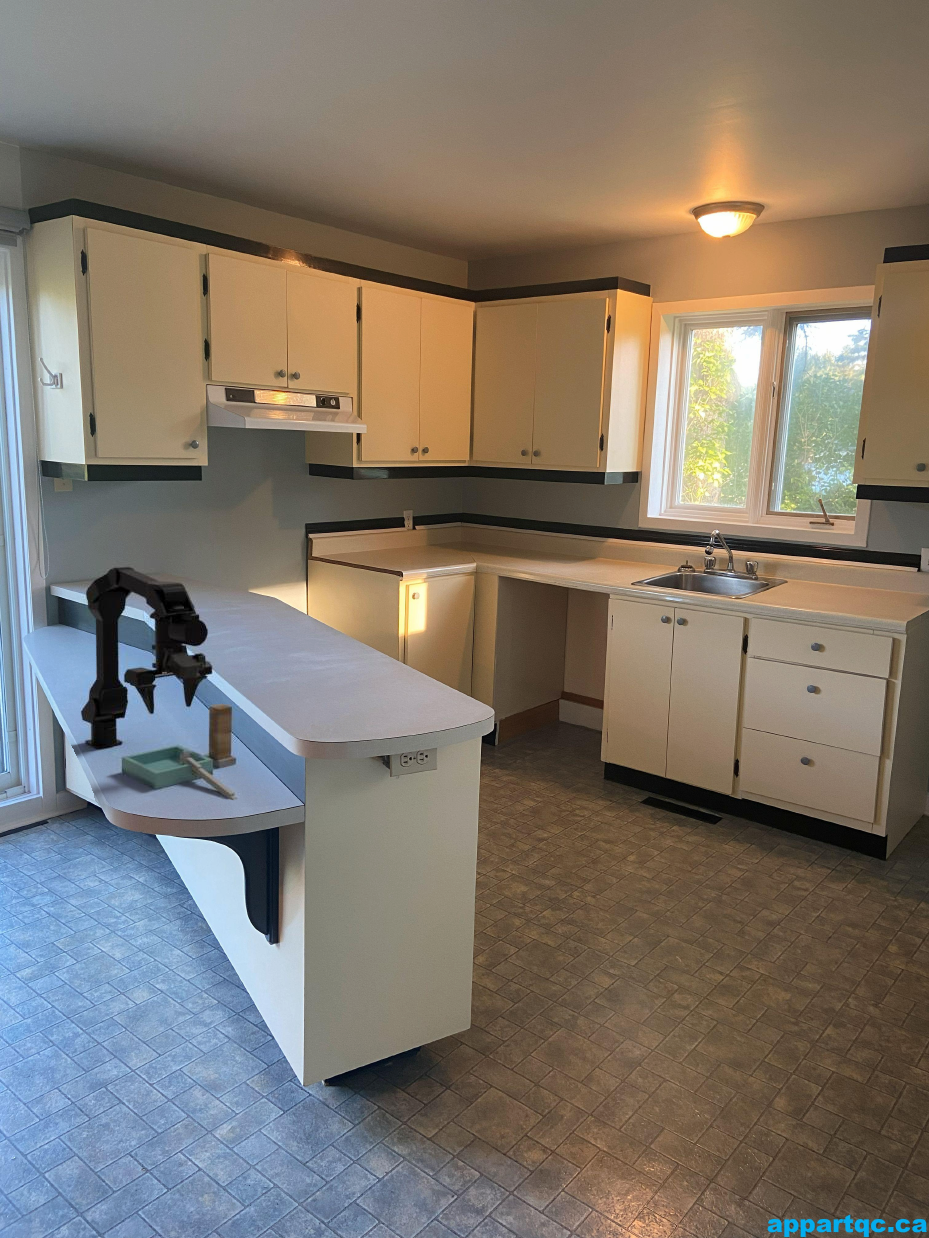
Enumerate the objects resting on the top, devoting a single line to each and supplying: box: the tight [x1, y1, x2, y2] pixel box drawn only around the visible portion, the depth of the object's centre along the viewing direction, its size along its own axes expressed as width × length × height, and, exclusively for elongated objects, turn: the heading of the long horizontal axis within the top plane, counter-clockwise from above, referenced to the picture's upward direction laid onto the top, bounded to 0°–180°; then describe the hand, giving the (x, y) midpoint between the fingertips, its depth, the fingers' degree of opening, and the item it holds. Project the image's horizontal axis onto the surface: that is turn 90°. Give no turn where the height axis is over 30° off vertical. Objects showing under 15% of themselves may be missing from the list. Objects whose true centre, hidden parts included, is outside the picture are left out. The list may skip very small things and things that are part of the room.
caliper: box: [179, 750, 239, 801], centre depth 191 cm, size 20×1×6 cm, turn 50°
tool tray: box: [121, 744, 214, 790], centre depth 197 cm, size 14×14×4 cm
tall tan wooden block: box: [203, 703, 237, 769], centre depth 206 cm, size 6×4×14 cm
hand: (170, 710), depth 196 cm, fingers open, 9 cm apart
